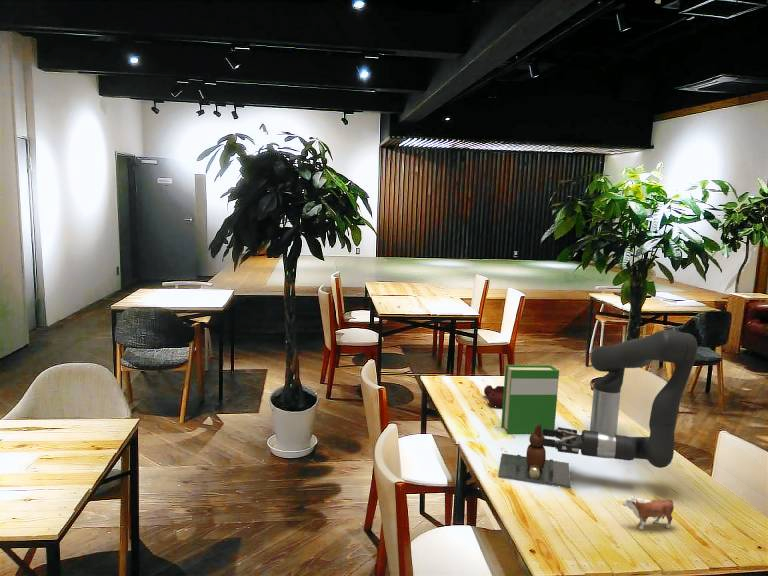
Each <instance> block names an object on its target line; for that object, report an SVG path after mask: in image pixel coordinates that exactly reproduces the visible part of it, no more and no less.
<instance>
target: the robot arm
mask: <svg viewBox="0 0 768 576" xmlns="http://www.w3.org/2000/svg"><path fill="white" fill-rule="evenodd" d="M697 351H698V342H697V338H696V337H695V336H694V335H693V334H691V333H688V332H682V331H676V330H675V331H674V330H668V329H663V330H658V331H656V332H654V333H651V334H650V335H648V336H645V337H639V338H638V337H637V338H633V339H629V340H626V341H621V342H620V343H619V342H618V343H616V344H613V345H607V346H606V345H602V346H601V345H599V346H597V347H595V348H594V349H592V352H591V354H590V364H591V365H592V367H593V369H595V370H596V371H598V372H603V373H604V372H605V373H606V374H605V375H604V376H601V377H599V378H596V379H595V380H594V383H593V393H592V394H593V395H592V403H591V412H590V413H591V414H590V422H589V423H590V425H589V426H590V427H589V430H588V429H582V431H581V434H578V429H573V428H566V427H561V426H559V427H557V428H556V429H554V430H553V429H545V428H544V429H543V435H544V437H550V438H552V439H550V438H543V440H542V445H543V446H544V447H547V448H554V449H556V450H557V452H558V453H565V454H567V453H568V454H575V455H579V453H580V454H581V456H587V457H594V458H601V459H615V460H620V461H621V460H622V461H629V462H630V461H633V460H634V459H636V460H637V459H639V460H646V461H647V462H648V463H649V464H650V465H652V466H653V467H655V468H658V469H659V468H660V469H663V468H666V467H668V466H669V465H670V464H671V463H672V461H673V458H674V453H675V433H676V432H675V430H676V425H677V421H678V415H679V409H680V405H681V402H682V397H683V394H684V392H685V389H686V386H687V383H688V381H689V378H690V375H691V372H692V370H693V366H694V364H695V360H696V357H697ZM653 361H659V362H663V363H664V362H665V363H671V364H675V366H674V370H673V373H672V375H671V376H670V378H669V379H668V381H667V382H666V383H665V385H664V386H663V387H662V388H661V389H660V390H659V392H658V393H657V394H656V395H655V397H654V400H653V401H652V404H651V408H650V409H651V411H650V416H649V422H648V425H649V430H650V431H649V432H650V433H649V436H626V435H621V434H620V435H619V434H617V432H618V422H619V414H620V413H619V411H620V399H621V392H622V390H621V389H622V386H623V382H624V376H625V369H636V368H637V369H638V368H644V367H647V366H650V364H651V363H652V362H653ZM554 438H556V439H554Z"/></svg>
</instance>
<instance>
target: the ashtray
mask: <svg viewBox="0 0 768 576" xmlns="http://www.w3.org/2000/svg"><path fill="white" fill-rule="evenodd" d="M483 393H484V396H486V397H487V401H488V403H489V405H491V406H492V407H493V406H496V407H499V408H503V394H504V385H496V387H493V386H492V385H486V386H485V387H484V390H483Z"/></svg>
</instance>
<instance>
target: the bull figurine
mask: <svg viewBox="0 0 768 576" xmlns="http://www.w3.org/2000/svg"><path fill="white" fill-rule="evenodd" d="M622 505H623V507H627V508H628V509H630V510H631V511H632V512H633V514H634V515H635V516H636V517H637V519H639V521H638V523H637V525H638V526H639V527H638V530H639V531H643V530H644V529H645V527H644V526H645V524H646V523H647V520H648V518H653V519H654V520H653V521H652V524H655V525H656V524H657V523H659V522H660V519H662V520H664V519H665V518H666V519H667V524H666V525H665V529H671V528H670V527H672V525H671V524H672V520H673V517H672V514H673V512H674V509H675V505H674V501H673V500H672V499H671V498H667V499H662V498H657V499H646V498H645V499H643V498H641V497H639V498H636V497H635V495H630V496H628V497H627V498H626V500H625V501H623V502H622Z"/></svg>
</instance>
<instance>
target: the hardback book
mask: <svg viewBox="0 0 768 576" xmlns="http://www.w3.org/2000/svg"><path fill="white" fill-rule="evenodd" d="M504 367H505V368H504V379H503V380H504V381H503V386H504V394H503V407H501V408H502V409H501V410H502V411H501V422H500V423H501V424H500V425H501V426H500V427H501V428H502V429H503V428H504V429H505V430H506V435H531V434H532V433H534V430H535V427H537V426H538V424H539V427H540V425H541V424H542V432H541V434H543V429H544V428H545V429H553V430H555V428H556V427H555V425H556V417H557V416H556V413H557V402H558V392H559V391H558V389H559V378H560V370H559V369H558V368H556V367H554V366H553V365H551V364H547V365H546V364H505V366H504Z"/></svg>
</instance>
